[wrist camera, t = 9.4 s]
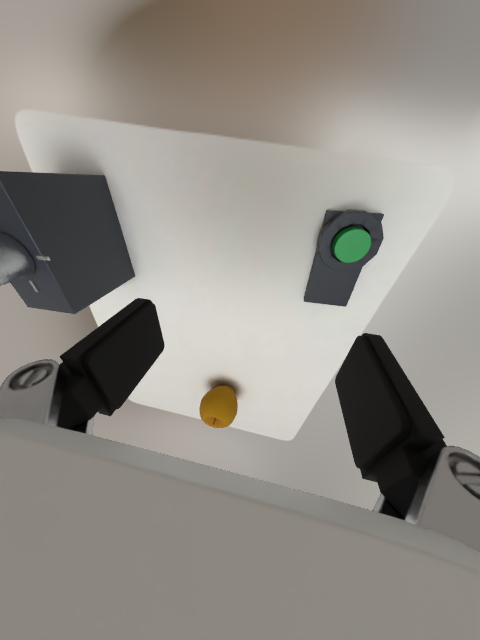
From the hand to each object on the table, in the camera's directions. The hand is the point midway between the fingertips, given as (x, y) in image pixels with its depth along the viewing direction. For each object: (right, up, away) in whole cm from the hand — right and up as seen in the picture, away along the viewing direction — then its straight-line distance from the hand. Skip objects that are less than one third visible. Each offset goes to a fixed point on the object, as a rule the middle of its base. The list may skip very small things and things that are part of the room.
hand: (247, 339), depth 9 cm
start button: (+12, +10, +13) cm, 21 cm away
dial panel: (-22, +15, +21) cm, 33 cm away
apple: (-4, -16, +38) cm, 42 cm away
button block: (+13, +9, +17) cm, 23 cm away
